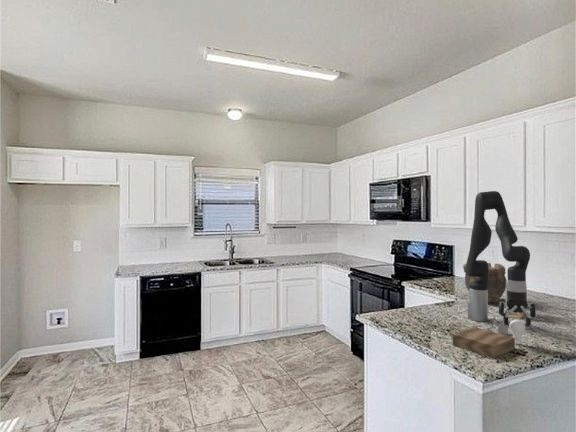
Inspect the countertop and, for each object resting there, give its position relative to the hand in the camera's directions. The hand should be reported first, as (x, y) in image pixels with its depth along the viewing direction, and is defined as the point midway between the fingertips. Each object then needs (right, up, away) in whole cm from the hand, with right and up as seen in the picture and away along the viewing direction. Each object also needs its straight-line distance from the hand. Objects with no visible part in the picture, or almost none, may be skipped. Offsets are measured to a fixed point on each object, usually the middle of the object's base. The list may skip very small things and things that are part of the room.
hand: (517, 325), depth 161 cm
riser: (-17, -9, -3) cm, 19 cm away
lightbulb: (0, -9, 0) cm, 9 cm away
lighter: (+1, -9, +15) cm, 18 cm away
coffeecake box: (+28, -8, +45) cm, 54 cm away
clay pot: (+28, -8, +78) cm, 83 cm away
